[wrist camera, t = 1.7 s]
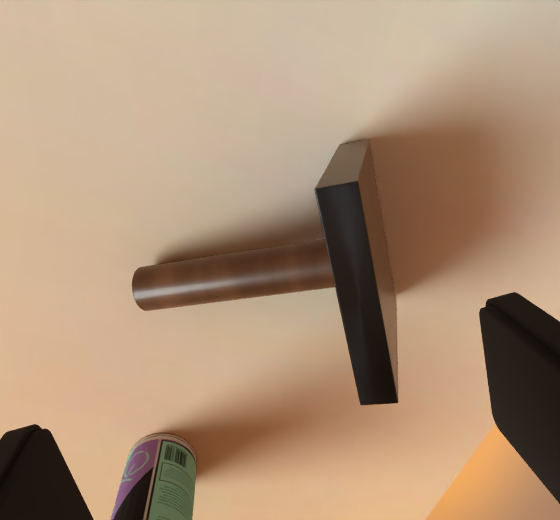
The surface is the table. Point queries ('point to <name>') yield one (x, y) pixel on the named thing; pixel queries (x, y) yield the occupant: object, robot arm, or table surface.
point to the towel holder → (310, 272)
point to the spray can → (157, 480)
